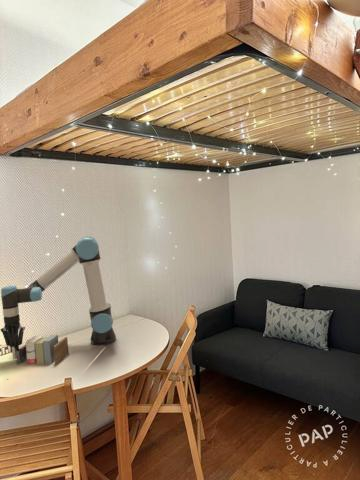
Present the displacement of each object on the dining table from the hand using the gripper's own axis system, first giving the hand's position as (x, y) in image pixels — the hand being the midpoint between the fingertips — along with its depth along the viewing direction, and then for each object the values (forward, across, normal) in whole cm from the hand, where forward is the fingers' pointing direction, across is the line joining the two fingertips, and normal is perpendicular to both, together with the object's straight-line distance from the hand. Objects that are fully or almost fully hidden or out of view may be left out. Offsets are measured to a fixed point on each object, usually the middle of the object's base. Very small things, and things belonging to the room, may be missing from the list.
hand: (15, 358), depth 177 cm
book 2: (+1, -21, 0) cm, 21 cm away
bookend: (+1, -4, 0) cm, 5 cm away
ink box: (+2, -12, 0) cm, 12 cm away
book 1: (+1, -17, 0) cm, 17 cm away
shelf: (+3, -15, 0) cm, 15 cm away
